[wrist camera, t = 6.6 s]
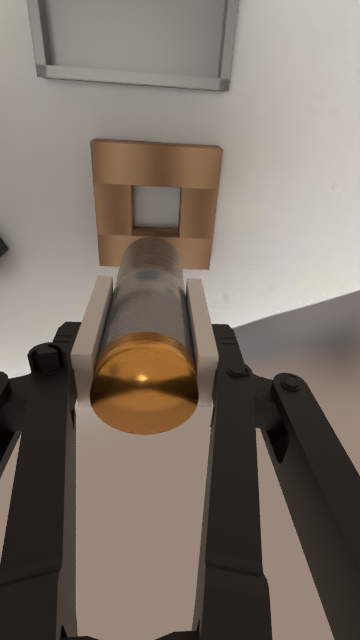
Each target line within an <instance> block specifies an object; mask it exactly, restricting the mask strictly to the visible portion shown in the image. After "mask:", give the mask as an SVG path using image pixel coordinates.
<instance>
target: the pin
mask: <svg viewBox="0 0 360 640" xmlns="http://www.w3.org/2000/svg"><path fill="white" fill-rule="evenodd" d="M198 400H199V392H198V385H197V377H196V370H195V362H194V355H193V348H192V340H191V333H190V325H189V318H188V310H187V303H186V295H185V288H184V280H183V273H182V266H181V259H180V256H179V254H178V252H177V250H176V249H175V248H174V246H173V245H171V244H170V243H169V242H167V241H165V240H164V239H161V238H157V237H144V238H140V239H138V240H136V241H134V242H132V243H131V244H130V245H129V246H128V247H127V248H126V250H125V252H124V254H123V256H122V260H121V264H120V268H119V272H118V276H117V281H116V285H115V289H114V293H113V297H112V301H111V305H110V310H109V314H108V318H107V322H106V326H105V330H104V334H103V339H102V343H101V347H100V351H99V355H98V359H97V364H96V368H95V372H94V376H93V380H92V384H91V388H90V403H91V406H92V408H93V410H94V412H95V413H96V415H97V416H98V417H99V418H100V419H101V420H102V421H103V422H105V423H106V424H108V425H109V426H111V427H113V428H115V429H118V430H120V431H123V432H127V433H131V434H142V435H143V434H144V435H147V434H156V433H162V432H166V431H169V430H171V429H174V428H176V427H178V426H179V425H181V424H183V423H184V422H185V421H186V420H188V419H189V418H190V417H191V415H192V414H193V413H194V411H195V409H196V407H197V405H198Z"/></svg>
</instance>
